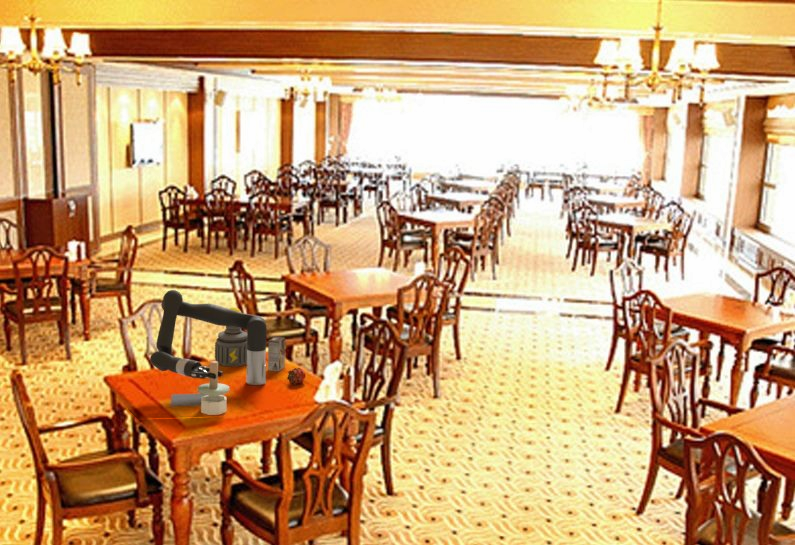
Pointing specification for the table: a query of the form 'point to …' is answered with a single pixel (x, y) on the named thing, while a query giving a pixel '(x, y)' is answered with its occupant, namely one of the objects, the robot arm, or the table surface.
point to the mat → (186, 399)
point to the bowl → (213, 404)
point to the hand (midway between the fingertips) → (218, 375)
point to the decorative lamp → (231, 346)
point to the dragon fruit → (296, 376)
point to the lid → (213, 383)
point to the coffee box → (276, 353)
